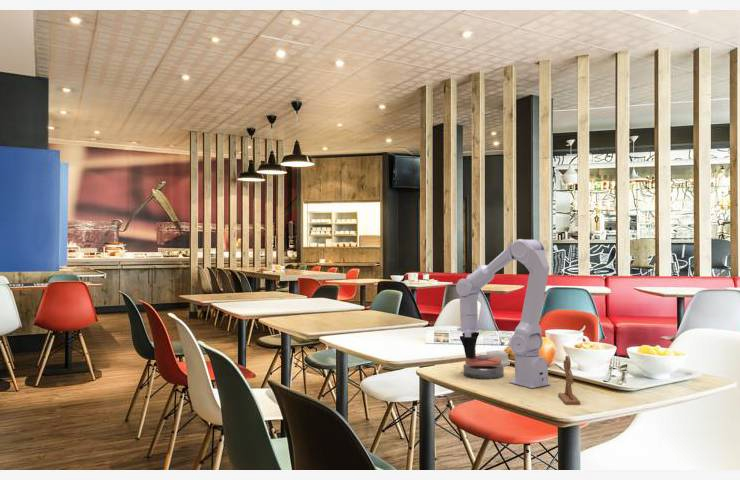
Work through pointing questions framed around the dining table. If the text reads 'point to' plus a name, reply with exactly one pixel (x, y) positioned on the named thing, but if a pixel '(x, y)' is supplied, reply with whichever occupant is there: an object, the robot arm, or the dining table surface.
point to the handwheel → (482, 360)
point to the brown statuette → (568, 396)
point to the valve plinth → (483, 371)
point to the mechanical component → (500, 356)
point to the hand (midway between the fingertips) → (470, 356)
